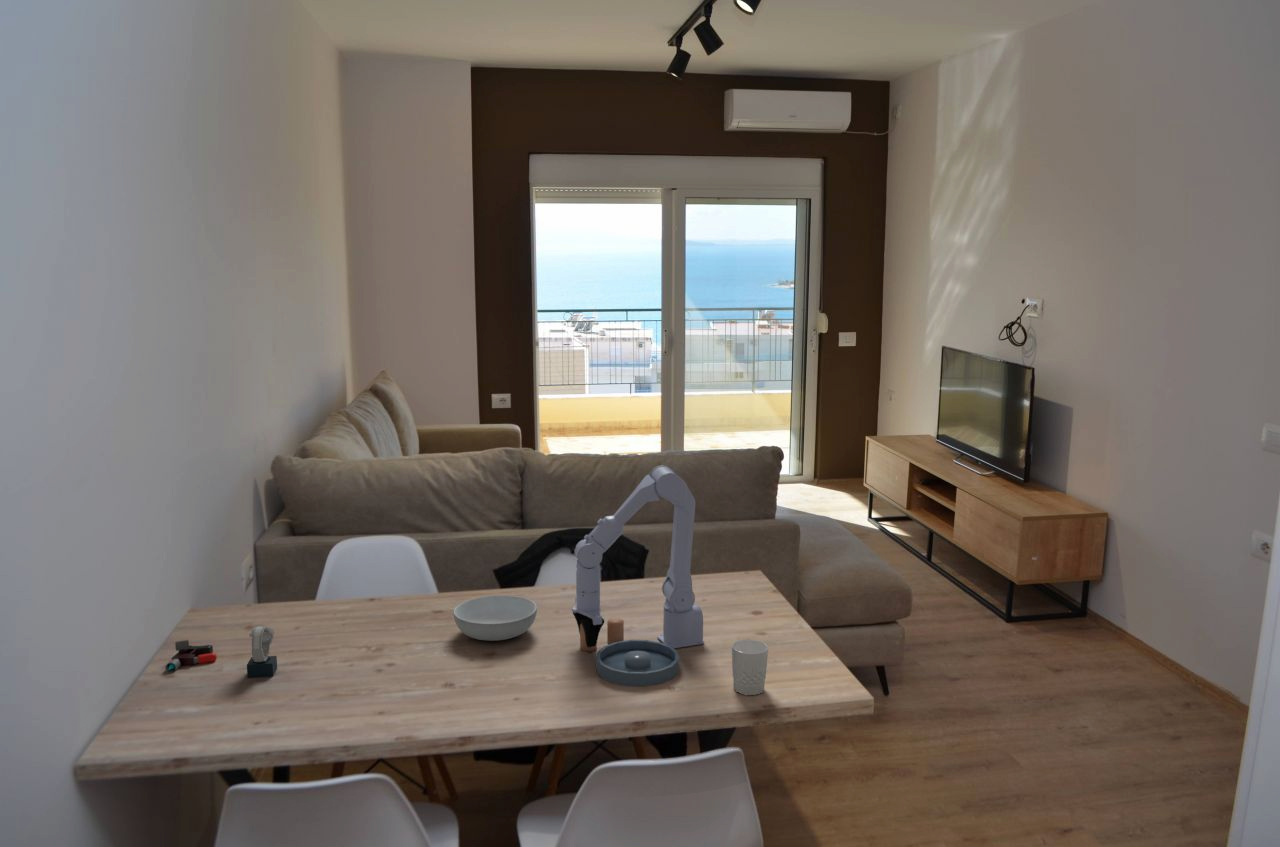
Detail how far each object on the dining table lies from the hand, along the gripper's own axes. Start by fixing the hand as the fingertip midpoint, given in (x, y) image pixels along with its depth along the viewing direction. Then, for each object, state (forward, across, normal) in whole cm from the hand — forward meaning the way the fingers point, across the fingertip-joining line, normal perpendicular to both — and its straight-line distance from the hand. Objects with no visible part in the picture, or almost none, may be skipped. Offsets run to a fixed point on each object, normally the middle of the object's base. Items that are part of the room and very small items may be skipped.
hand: (588, 642), depth 232 cm
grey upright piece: (+2, -13, -74) cm, 75 cm away
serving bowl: (+2, -17, -19) cm, 26 cm away
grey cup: (+2, +34, +26) cm, 43 cm away
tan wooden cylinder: (+1, 0, 0) cm, 1 cm away
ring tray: (+1, +15, +7) cm, 17 cm away
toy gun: (+2, -25, -89) cm, 92 cm away
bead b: (+1, 0, +7) cm, 7 cm away
